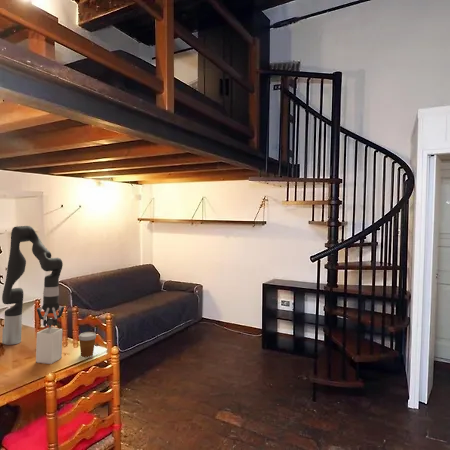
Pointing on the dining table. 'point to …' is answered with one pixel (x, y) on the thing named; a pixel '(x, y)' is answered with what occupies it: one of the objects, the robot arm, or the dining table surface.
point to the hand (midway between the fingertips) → (50, 325)
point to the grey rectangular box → (49, 346)
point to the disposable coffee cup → (87, 343)
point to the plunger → (50, 323)
